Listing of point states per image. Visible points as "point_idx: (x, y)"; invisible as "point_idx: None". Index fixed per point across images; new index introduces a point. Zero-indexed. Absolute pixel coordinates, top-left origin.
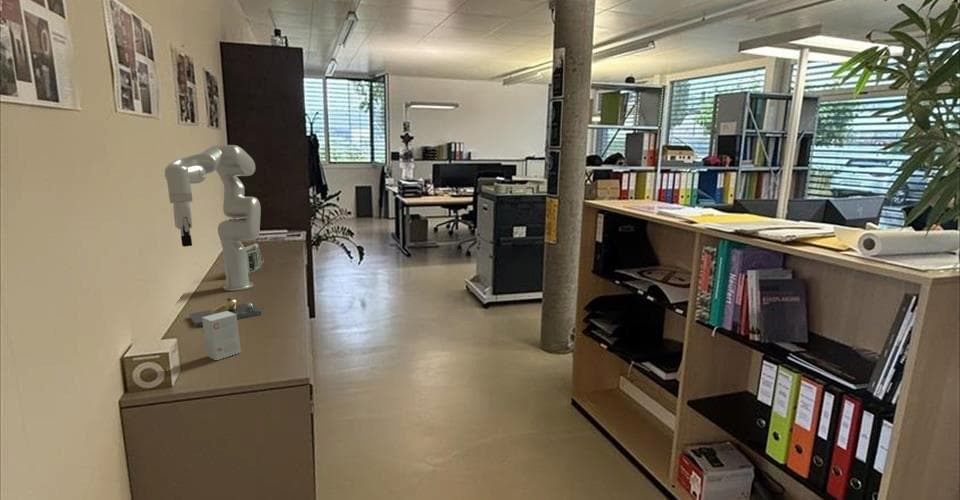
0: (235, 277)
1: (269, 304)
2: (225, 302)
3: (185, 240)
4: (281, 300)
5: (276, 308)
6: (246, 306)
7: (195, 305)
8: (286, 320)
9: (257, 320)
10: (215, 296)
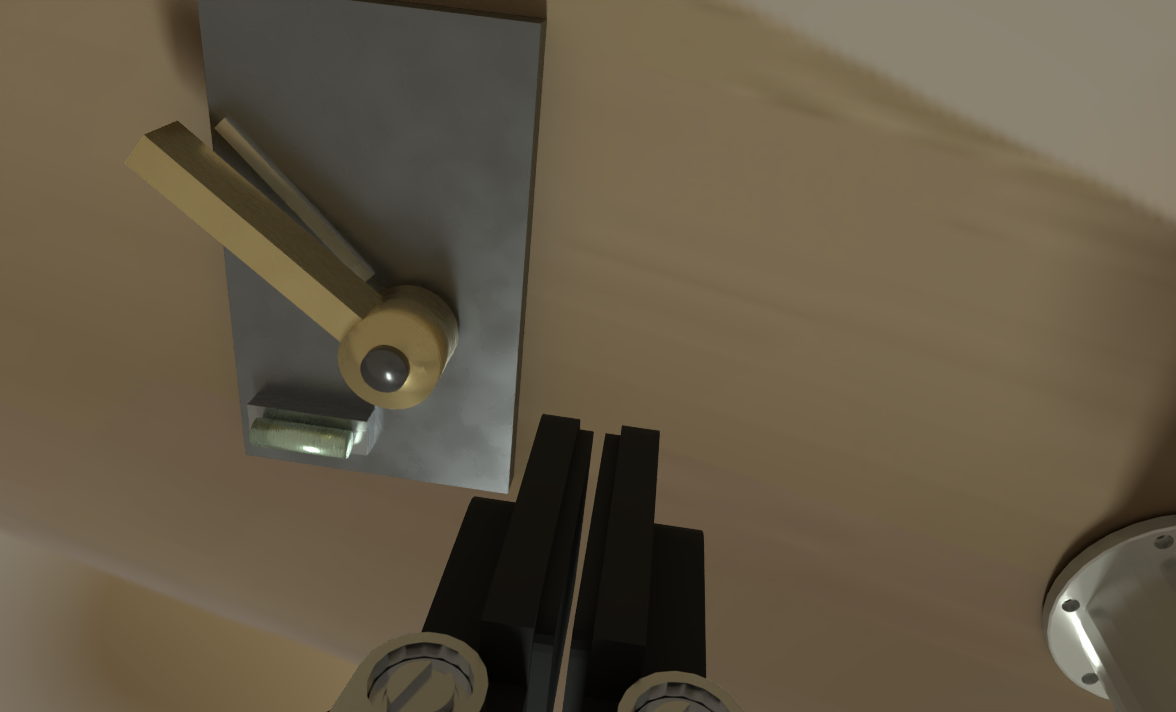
0: (1147, 658)
1: None
2: (351, 317)
3: (449, 578)
4: None
5: (338, 547)
6: (333, 417)
7: (925, 176)
8: (37, 484)
9: (133, 372)
10: (1068, 394)
